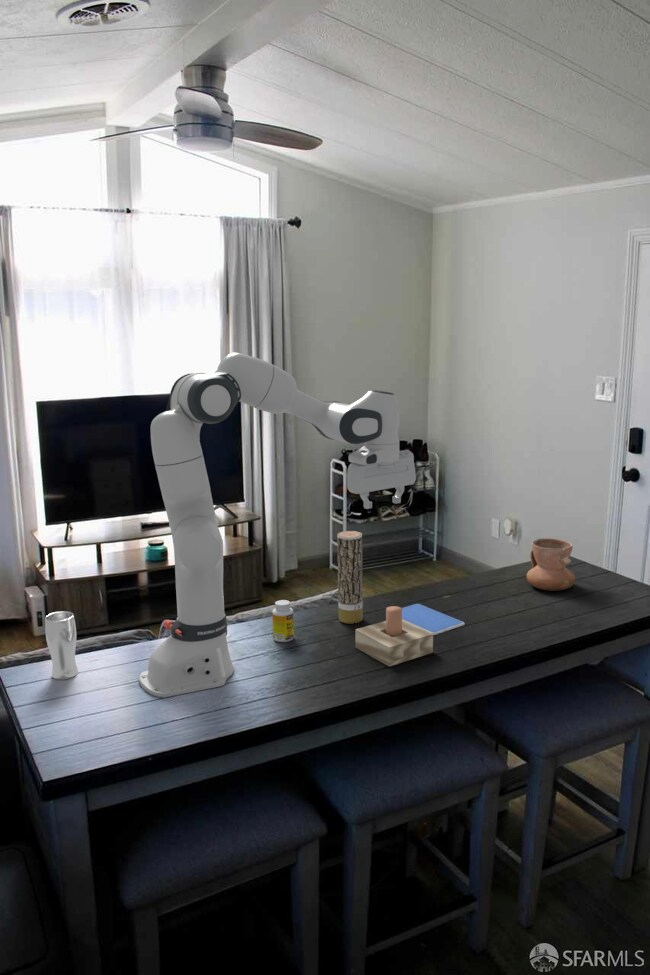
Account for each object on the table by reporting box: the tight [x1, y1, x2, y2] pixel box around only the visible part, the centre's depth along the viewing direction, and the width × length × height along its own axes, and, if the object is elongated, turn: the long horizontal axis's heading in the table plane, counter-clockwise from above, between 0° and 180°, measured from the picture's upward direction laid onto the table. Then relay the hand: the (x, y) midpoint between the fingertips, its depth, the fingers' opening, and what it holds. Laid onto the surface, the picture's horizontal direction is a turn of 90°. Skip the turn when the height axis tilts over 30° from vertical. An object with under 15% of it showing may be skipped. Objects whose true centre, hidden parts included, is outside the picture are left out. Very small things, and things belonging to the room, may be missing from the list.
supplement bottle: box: [271, 599, 295, 643], centre depth 211 cm, size 6×6×10 cm
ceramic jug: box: [526, 537, 576, 592], centre depth 247 cm, size 18×14×14 cm
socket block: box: [354, 619, 434, 667], centre depth 203 cm, size 14×14×5 cm
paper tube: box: [336, 530, 364, 625], centre depth 221 cm, size 7×7×25 cm
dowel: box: [385, 605, 403, 637], centre depth 202 cm, size 4×4×10 cm
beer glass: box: [44, 610, 79, 681], centre depth 192 cm, size 7×7×15 cm
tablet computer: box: [401, 603, 466, 636], centre depth 223 cm, size 19×13×1 cm, turn 37°
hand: (382, 505), depth 208 cm, fingers open, 8 cm apart
